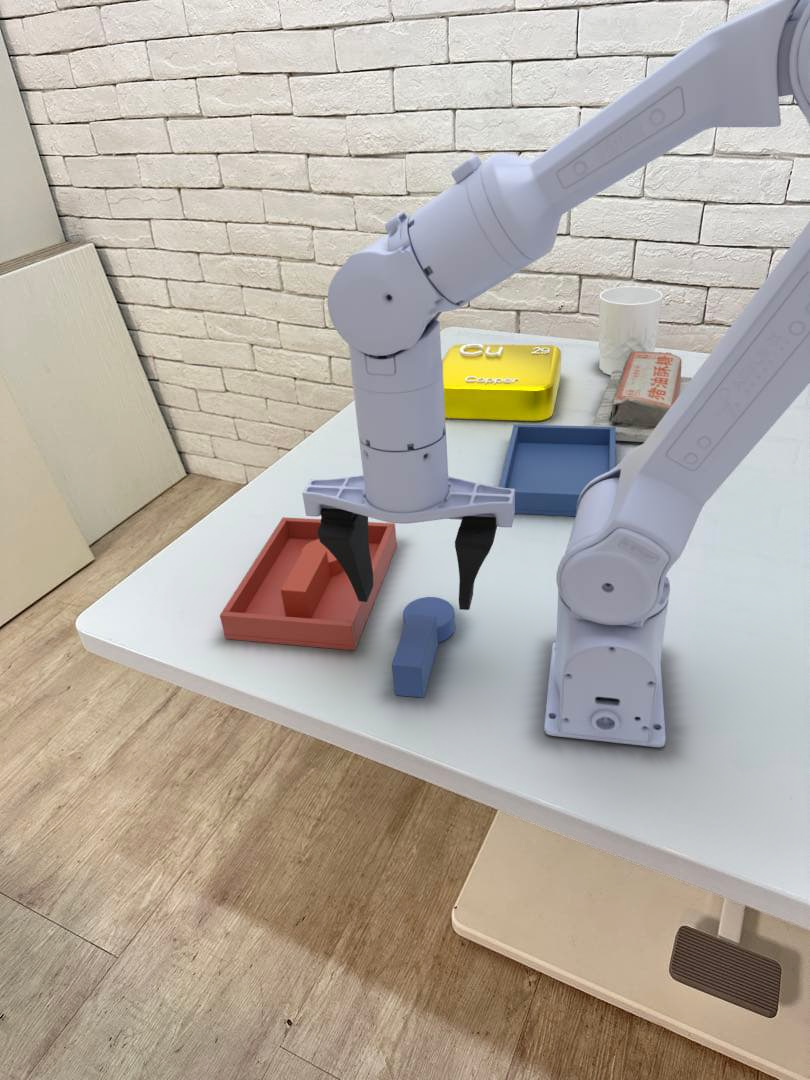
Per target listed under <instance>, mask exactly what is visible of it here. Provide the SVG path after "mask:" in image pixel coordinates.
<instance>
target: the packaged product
mask: <svg viewBox="0 0 810 1080" xmlns="http://www.w3.org/2000/svg"><path fill="white" fill-rule="evenodd" d="M692 378H693V377H687V376H686V377H685V376H682V358H681V357H680V356H678V355H675V354H673V353H672V352H668V351H667V352H662V351H658V352H656V351H653V352H639V351H635V352H630V355H629V356H628V359H627V361H626V363H625V366H624V369H623V372H621V371H620V370H617V371H613V372H612V375H611V376H610V378H609V381H608V383H607V386H606V388H605V391H604V393H603V396H602V399H601V401H600V405H599V407H598V410H597V411H596V415H595V417H594V420H593V423H592V426H598V427H616V440H615V441H622V442H636V443H644V442H645V441H646V440H647V438H648V437H649V435H650V434H651V433H652V431H653V430H654V429H655V427H656V426H657V425H658V423H659V422H660V421H661V419H662V418H663V417H664V415H665V414H666V413H667V411H668V410H669V409H670V407H671V406H672V405H673V403H674V402H675V401H676V399H677V398H678V397H679V395H680V394H681V393H682V391H683V390H684V389H685V387H686V386H687V385H688V383H689V382H690V381H691V379H692Z"/></svg>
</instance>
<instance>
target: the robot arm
mask: <svg viewBox="0 0 810 1080" xmlns="http://www.w3.org/2000/svg"><path fill="white" fill-rule="evenodd" d="M786 96H793V97H792V98H793V99H794V101H795V103H796V104H797V107H798V108H799V109H800V111H801V113H802V114H803V116H804V118H805V119H806V122H807V123H808V125H809V127H810V0H765V1H762V2H760V3H758V4H757V5H755V6H753V7H751V8H749V9H747V10H746V11H744V12H742V13H740V14H738V15H736V16H734V17H732V18H730V19H729V20H726V21H725V22H723V23H721V24H719V25H717V26H715V27H713V28H712V29H710V30H708V31H707V32H705V33H704V34H703V35H701V36H699V37H698V38H697V39H695V40H694V41H692V43H690V44H689V45H687V46H686V47H684V48H683V49H682V50H681V51H679V52H678V53H677V54H675V55H674V56H672V57H671V58H669V60H667V61H665V63H663V64H661V65H660V66H659V67H657V68H656V69H655V70H653V71H652V72H651V73H650V74H647V76H646V77H644V78H642V79H641V80H640V81H639V82H638V83H636V84H634V85H633V86H632V87H631V88H629V89H628V90H627V91H624V93H622V94H621V95H620V96H619V97H617V98H616V99H614V100H613V101H612V102H610V103H609V104H607V105H606V106H605V107H603V108H602V109H601V110H600V111H598V112H596V113H595V114H593V116H591V117H590V118H589V119H587V120H586V121H584V122H583V123H582V124H581V125H579V126H578V127H576V128H575V129H574V130H572V131H571V132H569V133H568V134H567V135H565V136H564V137H563V138H561V139H560V140H558V141H557V142H556V143H555V144H553V145H552V146H551V147H549V148H548V149H547V150H545V151H544V152H543V153H541V154H540V155H538V156H537V157H524V156H519V155H515V154H510V153H506V152H496V153H494V154H492V155H491V156H490V157H489V158H487V159H486V160H484V161H483V162H482V161H481V159H480V157H479V156H478V155H476V154H473V155H472V156H471V157H469V158H468V159H466V160H465V161H463V162H462V163H461V164H459V165H458V166H456V167H455V168H454V169H453V170H452V171H451V177H452V178H453V180H454V183H453V184H452V185H450V186H449V187H447V188H446V189H445V190H443V191H442V192H441V193H439V194H437V195H436V196H435V197H434V198H432V199H431V200H430V201H428V202H427V203H425V204H424V205H422V206H421V207H420V208H418V209H417V210H415V211H414V212H413V213H412V214H410V215H409V216H408V214H407V213H405V212H404V211H400V212H399V213H397V214H396V215H394V216H393V217H391V219H389V220H388V221H386V223H384V227H385V230H386V232H387V234H384V235H383V236H381V237H379V238H377V239H375V240H374V241H373V242H372V243H370V244H369V245H367V246H366V247H364V248H363V249H362V250H360V251H357V252H354V253H352V254H350V255H348V258H347V259H346V261H345V262H344V263H343V264H342V265H341V267H340V268H339V269H338V270H337V271H336V272H335V274H334V276H333V277H332V279H331V281H330V284H329V286H328V291H327V311H328V314H329V319H330V321H331V323H332V325H333V327H334V329H335V330H336V332H337V333H338V335H339V336H340V337H341V338H342V340H344V342H346V343H347V345H348V351H349V352H348V353H349V361H350V367H351V369H350V370H351V371H350V372H351V373H350V374H351V380H352V390H353V401H354V406H355V416H356V425H357V436H358V441H359V451H360V460H361V467H362V468H361V469H362V475H354V476H345V477H336V478H326V479H325V478H324V479H323V478H322V479H319V478H318V479H317V478H316V479H315V478H312V479H309V482H308V483H307V485H306V486H305V488H304V489H303V491H302V493H301V494H302V499H303V506H304V513H305V516H306V517H315V518H316V517H320V519H321V524H320V526H319V528H318V530H317V533H318V537H319V540H320V542H321V543H322V544H323V545H324V546H325V547H326V548H327V549H328V550H329V551H330V552H331V553H332V554H333V555H334V557H335V558H336V559H337V560H338V562H339V563H340V565H341V566H342V568H343V569H344V571H345V573H346V574H347V576H348V578H349V580H350V582H351V584H352V586H353V589H354V591H355V593H356V596H357V598H358V601H361V602H367V600H368V598H369V596H370V593H371V591H372V588H373V569H372V562H371V556H370V550H369V537H368V522H369V518H371V519H374V520H378V521H381V522H384V523H394V524H399V525H402V524H403V525H404V524H407V525H408V524H415V523H416V524H418V523H425V522H433V521H440V520H461V521H460V525H459V527H458V530H457V534H456V537H455V540H454V548H455V554H456V559H457V567H458V575H459V578H458V579H459V581H458V582H459V585H458V607H459V610H460V611H461V610H462V611H469V610H470V609H471V604H472V600H473V597H474V587H475V581H476V578H477V575H478V574H479V571H480V569H481V567H482V565H483V563H484V562H485V560H486V558H487V557H488V555H489V553H490V551H491V550H492V547H493V545H494V542H495V537H496V534H497V528H513V525H514V524H513V523H514V518H515V514H516V513H515V489H510V488H500V487H499V486H492V485H489V484H488V485H487V484H483V483H479V482H476V481H470V480H467V479H463V478H459V477H454V476H450V475H449V467H448V465H449V464H448V445H447V444H448V443H447V442H448V441H447V428H446V427H447V426H446V418H445V404H444V383H443V363H442V361H443V357H442V346H441V343H442V341H441V324H440V321H439V317H440V316H441V314H442V313H443V312H451V311H457V310H459V309H460V308H462V307H463V306H465V305H467V304H468V303H470V302H472V301H474V300H475V299H476V298H478V297H480V296H481V295H483V294H484V293H486V292H487V291H489V290H491V289H492V288H495V287H497V286H498V285H499V284H500V283H502V282H504V281H506V280H507V279H510V278H511V277H512V276H513V275H515V274H517V273H519V272H520V271H522V270H524V269H525V268H526V267H528V266H531V264H533V263H535V262H536V261H539V260H540V259H541V258H543V257H545V256H546V255H548V254H550V253H551V252H552V250H553V249H554V246H555V243H556V240H557V235H558V231H559V227H560V223H561V219H562V216H563V215H564V214H566V213H567V212H569V211H571V210H573V209H574V208H576V207H578V206H579V205H581V204H582V203H584V202H586V201H588V200H590V199H591V198H594V196H596V195H598V194H599V193H601V192H603V191H605V190H606V189H608V188H610V187H611V186H613V185H614V184H617V183H618V182H620V181H622V180H623V179H624V178H626V177H628V176H630V175H631V174H633V173H635V172H637V171H638V170H640V169H641V168H643V167H645V166H647V165H648V164H650V163H651V162H653V161H655V160H657V159H659V158H660V157H662V156H663V155H665V154H668V153H669V152H671V151H672V150H673V149H675V148H677V147H679V146H680V145H682V144H683V143H685V142H687V141H689V140H691V139H692V138H694V137H695V136H697V135H699V134H700V133H702V132H704V131H706V130H709V129H713V128H777V127H780V126H781V124H782V117H781V108H780V98H781V97H786ZM779 97H780V98H779ZM809 385H810V221H808V223H807V224H806V225H805V227H804V228H803V230H802V231H801V232H800V234H799V235H798V236H797V237H796V239H795V240H794V241H793V243H792V244H791V245H790V247H789V248H788V250H787V251H786V252H785V254H784V255H783V256H782V258H780V260H779V262H778V263H777V264H776V265H775V267H774V268H773V270H772V271H771V273H770V274H769V275H768V276H767V277H766V279H765V280H764V282H763V283H762V284H761V286H760V287H759V289H757V291H756V293H755V294H754V295H753V296H752V298H751V299H750V300H749V302H748V303H747V304H746V305H745V307H744V309H743V310H742V311H741V312H740V314H738V316H737V318H736V319H735V320H734V321H733V323H732V324H731V325H730V327H729V328H728V330H727V331H726V332H725V334H724V335H723V336H722V338H721V339H720V340H719V342H718V343H717V344H716V346H715V347H714V348H713V350H712V351H711V352H710V354H709V355H708V357H707V358H705V360H704V362H703V363H702V364H701V366H700V367H699V368H698V370H697V371H696V372H695V374H694V375H693V377H692V379H691V381H690V382H689V383H688V385H687V386H686V387H685V389H684V390H683V391H682V393H681V394H680V395H679V397H678V398H677V399H676V401H675V402H674V403H673V405H672V406H671V407H670V409H669V410H668V411H667V413H666V414H665V415H664V417H663V418H662V419H661V421H660V422H659V423H658V425H657V426H656V427H655V429H654V430H653V431H652V433H651V434H650V435H649V437H648V438H647V440H646V441H645V442H642V444H640V445H637V446H635V447H633V448H631V449H629V450H628V451H627V453H626V454H625V455H624V457H623V458H622V460H621V461H620V462H619V463H618V464H617V465H615V468H613V469H612V470H610V471H609V472H606V473H604V474H602V475H600V476H598V477H596V478H595V479H593V480H592V481H590V482H589V483H588V484H587V485H586V486H585V488H584V489H583V490H582V492H581V494H580V496H579V499H578V503H577V507H576V509H577V514H576V516H575V517H574V522H573V525H572V528H571V532H570V535H569V538H568V542H567V546H566V549H565V552H564V554H563V556H562V557H561V559H560V561H559V564H558V566H557V571H556V580H555V581H556V586H557V607H556V608H557V610H556V633H555V635H556V636H555V641H554V642H553V643H552V645H551V652H550V653H551V654H550V664H549V665H550V666H549V675H548V683H547V692H546V693H547V694H546V704H545V714H544V724H543V731H544V733H545V734H546V735H548V736H551V737H552V736H553V737H561V738H568V739H569V738H570V739H577V740H578V739H580V740H587V741H597V742H607V743H615V744H626V745H634V746H641V747H642V746H643V747H651V748H663V747H664V746H665V745H666V739H667V738H666V737H667V736H666V721H665V720H666V719H665V709H664V693H663V691H664V690H663V678H662V676H663V675H662V662H661V661H662V659H661V658H662V651H663V644H664V637H665V629H666V622H667V615H668V608H669V599H670V593H671V592H670V591H671V588H670V585H671V584H670V580H669V577H668V576H667V575H668V572H669V571H670V570H671V568H672V567H673V566H674V564H675V563H676V562H677V561H678V560H679V559H680V557H681V556H682V554H683V553H684V550H685V548H686V546H687V543H688V541H689V539H690V537H691V535H692V532H693V530H694V528H695V525H696V523H697V520H698V518H699V517H700V514H701V512H702V511H703V507H704V506H705V505H706V504H707V502H708V501H709V500H710V499H711V498H712V496H713V495H715V493H716V492H717V491H718V489H719V488H721V486H722V485H723V484H724V483H725V482H726V481H727V479H728V478H729V477H730V476H731V475H732V473H734V471H735V470H736V469H737V468H738V467H739V465H740V464H741V463H743V460H744V459H746V457H747V456H748V455H749V454H750V453H751V451H753V449H754V448H755V447H756V445H758V444H759V442H760V441H761V440H762V439H763V437H765V435H766V434H767V433H768V432H769V431H770V430H771V428H772V427H773V426H774V425H775V424H776V422H777V421H778V420H779V419H780V418H781V417H782V416H783V415H784V413H785V412H786V411H787V410H788V409H789V408H790V406H791V405H792V404H793V403H794V402H795V401H796V400H797V398H799V396H800V395H801V393H802V392H804V390H805V389H806V388H807V387H808V386H809Z"/></svg>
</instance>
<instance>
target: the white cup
mask: <svg viewBox="0 0 810 1080" xmlns="http://www.w3.org/2000/svg"><path fill="white" fill-rule="evenodd" d="M663 299H664V294H663V292H662V291H660V290H658V289H656V288H653V287H648V286H641V285H622V286H615V287H610V288H607V289H605V290H603V291H601V292H599V299H598V302H599V303H598V304H599V305H598V306H599V307H598V348H599V369H600V371H601V372H602V373H603V374H605V375H608V376H610V377H611V375H612V372H613V371H617V370H620V371H621V372H623V369H624V366H625V363H626V361H627V359H628V356H629V355H630V352H635V351H639V352H655V350H656V342H657V338H658V331H659V325H660V319H661V311H662V306H663V305H662V304H663Z"/></svg>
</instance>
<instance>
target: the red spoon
mask: <svg viewBox="0 0 810 1080" xmlns="http://www.w3.org/2000/svg"><path fill="white" fill-rule="evenodd" d="M343 571H344V569H343V568H342V566H341V565H340V563H339V562H338V560H337V559H336V558H335V557H334V555H333V554H332V553H331V552H330V551H329V550H328V549H327V548H326V547H325V546H324V545H323V544H322V543H321V542H320V540H319V539H317V540H314V541H311V542H310V543H308V544H306V545H305V546H304V547H303V549H302V551H301V555H300V556H299V558H298V560H297V562H296V564H295V565H294V567H293V569H292V571H291V572H290V574H289V576H288V578H287V579H286V581H285V583H284V585H283V586H282V588H281V595H282V600H283V605H284V610H285V615H286V617H297V618H309V619H311V617H312V615H313V613H314V611H315V609H316V607H317V605H318V603H319V601H320V599H321V597H322V595H323V593H324V591H325V589H326V587H327V585H328V583H329V581H330V579H331V576H335V575H337V574H339V573H341V572H343Z"/></svg>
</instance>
